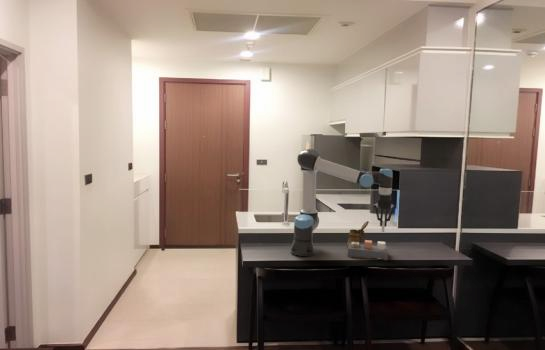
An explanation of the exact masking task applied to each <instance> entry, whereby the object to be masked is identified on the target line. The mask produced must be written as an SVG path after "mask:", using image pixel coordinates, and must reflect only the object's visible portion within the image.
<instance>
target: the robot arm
mask: <svg viewBox="0 0 545 350" xmlns="http://www.w3.org/2000/svg"><path fill="white" fill-rule="evenodd" d="M297 163H298V165H299V166H300V171H301V172H302V208H301V209H300V210H299V214H298V215H297V216H295V218H294V220H293V223H294V225H293V226H294V227H293V241H292V244H291V247H290V254H291V253H292V254H291V255H293V254H294V255H293V256H296V255H298V256H297V257H301V256H308V257H312V256H314V255H315V252H316V251H315V247H314V242H313V236H314V235H313V234H314V230H316V229H317V228H318V227H319V223H320V217H319V216H318V215H319V210H317V207H316V202H317V173H318V172H321V173H324V174H326V175H330V176H333V177H337V178H340V179H342V180H345V181H347V182H348V181H349V182H352V183H355V184H358V185H361V186H362V187H363V188H369V187H371V186H372V185H374V184H375V185H378V199H377V203H375V204H373V207H374V209H375V213H376V218H377V219H376V220H377V221H379V226H380V227H381V232H382V233H385V228H386V227H387V222H390V220H391V218H392V215H393V212H394V209H396V206H395V205H394V204H393V203H392V190H393V175H394V174H393V170H392V169H390V168H380V169H379V171H370V170H359V169H358V170H357V169H354V168H351V167H348V166H345V165H342V164H339V163H336V162H333V161H330V160H327V159H324V158H321V154H320V153H319V152H318V150H316V149H314V148H307V149H304V150H301V151H300V152H299V153H298V155H297ZM378 207H379V208H380V215H379V209H378ZM388 209H390V211H389V214H388ZM383 212H384V213H383ZM383 215H384V216H383ZM383 217H384V219H383Z"/></svg>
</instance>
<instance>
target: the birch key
mask: <svg viewBox="0 0 545 350" xmlns="http://www.w3.org/2000/svg"><path fill="white" fill-rule="evenodd" d="M351 247H356V248H359V242H352V244H351Z"/></svg>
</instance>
